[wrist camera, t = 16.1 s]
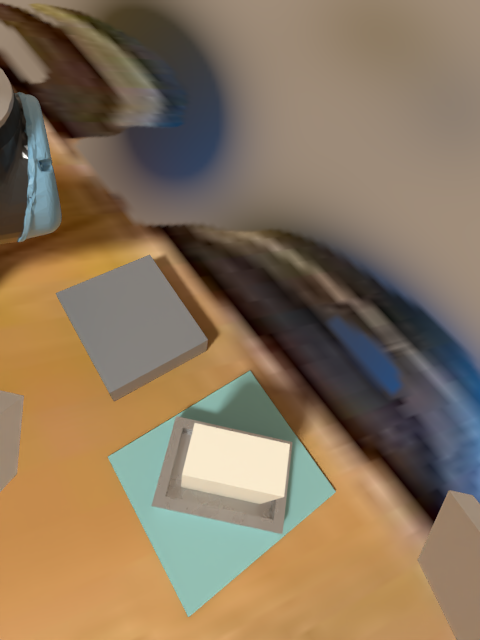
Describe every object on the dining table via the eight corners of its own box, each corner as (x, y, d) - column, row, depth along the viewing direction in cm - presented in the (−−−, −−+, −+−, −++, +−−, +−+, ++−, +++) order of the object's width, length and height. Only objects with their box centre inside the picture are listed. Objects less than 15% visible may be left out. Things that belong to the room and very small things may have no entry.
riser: (113, 401, 41) (109, 393, 39) (62, 306, 46) (55, 293, 43) (206, 350, 46) (208, 339, 43) (151, 268, 50) (149, 254, 48)
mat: (188, 616, 33) (188, 617, 33) (108, 457, 38) (107, 456, 38) (334, 492, 40) (335, 491, 40) (249, 371, 45) (249, 370, 45)
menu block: (259, 504, 37) (284, 497, 29) (181, 487, 37) (181, 474, 28) (265, 462, 39) (290, 444, 31) (191, 446, 39) (194, 422, 30)
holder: (276, 533, 37) (282, 533, 35) (152, 506, 37) (151, 505, 35) (286, 446, 41) (292, 442, 39) (176, 421, 41) (175, 416, 39)
